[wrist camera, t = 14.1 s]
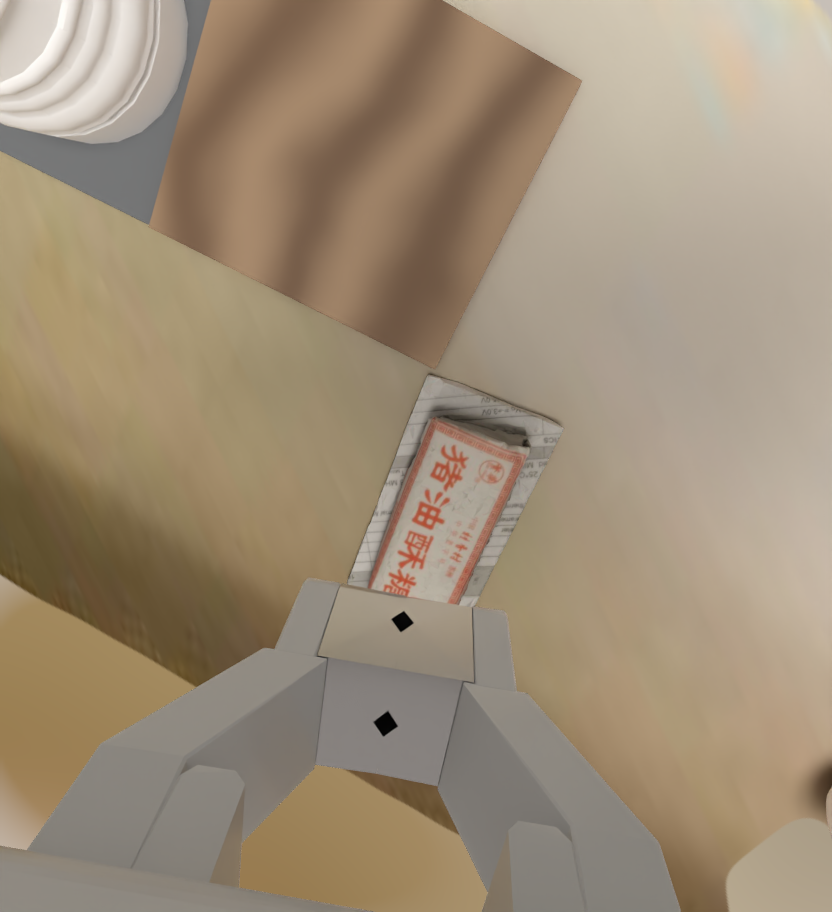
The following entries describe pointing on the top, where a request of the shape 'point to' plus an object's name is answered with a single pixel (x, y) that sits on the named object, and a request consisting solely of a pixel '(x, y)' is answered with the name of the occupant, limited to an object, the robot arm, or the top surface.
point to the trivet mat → (114, 147)
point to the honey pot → (89, 65)
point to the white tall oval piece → (829, 810)
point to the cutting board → (359, 156)
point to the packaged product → (453, 494)
